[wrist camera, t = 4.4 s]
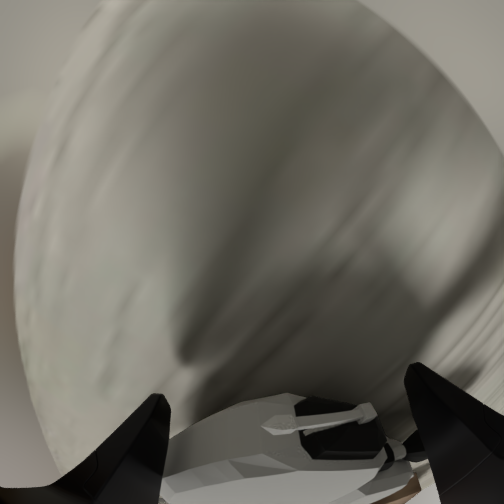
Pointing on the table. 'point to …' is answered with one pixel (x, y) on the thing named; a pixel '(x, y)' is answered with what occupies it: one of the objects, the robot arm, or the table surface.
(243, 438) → the robot toy
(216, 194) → the table surface
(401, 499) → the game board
